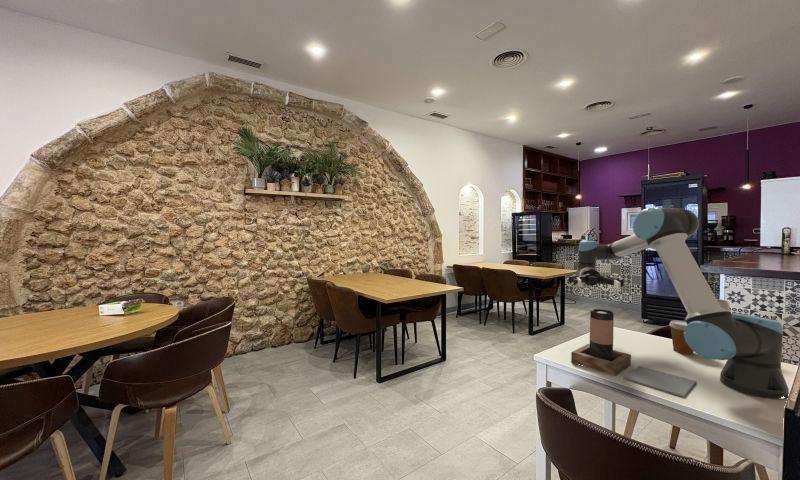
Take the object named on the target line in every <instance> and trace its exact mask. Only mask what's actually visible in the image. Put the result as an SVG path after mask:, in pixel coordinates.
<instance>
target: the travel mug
mask: <svg viewBox="0 0 800 480" xmlns="http://www.w3.org/2000/svg"><path fill="white" fill-rule="evenodd" d="M614 315H615V314H614V311H611V310H607V309H601V308H594V309H593V310H590V315H589V316H590V317H589V320H590V322H589V344H590V356H594V357H597V358H601V359H604V360H608V361H612V355H613V350H614V324H615V323H614V319H615V318H614Z"/></svg>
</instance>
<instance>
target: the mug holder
mask: <svg viewBox="0 0 800 480" xmlns="http://www.w3.org/2000/svg"><path fill="white" fill-rule="evenodd" d="M570 356H571V359H570V360H571V361H570V363H572V362H574V363H573V364H575V363H577V364H576V365H578V364H580V365H579V366H581V365H583V366H582V367H584V366H586V367H585V368H588V367H589V368H588V369H591V368H592V370H595V371H597V372H601V373H604V374H607V375H611V376H614V377H616V376H618V375H620V373H622V372H623V371H625V370H626V369H627V368H629V367H630V366H631V365H632V354H631V353H630V354H629V353H626V352H622V351H618V350H614V349H613V355H612V361H608V360H604V359H601V358H597V357H594V356H590V343H587V344H586V345H585V344H584V345H583V346H581V347H579V348H576V349H574V350H573V351H571V352H570Z"/></svg>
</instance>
